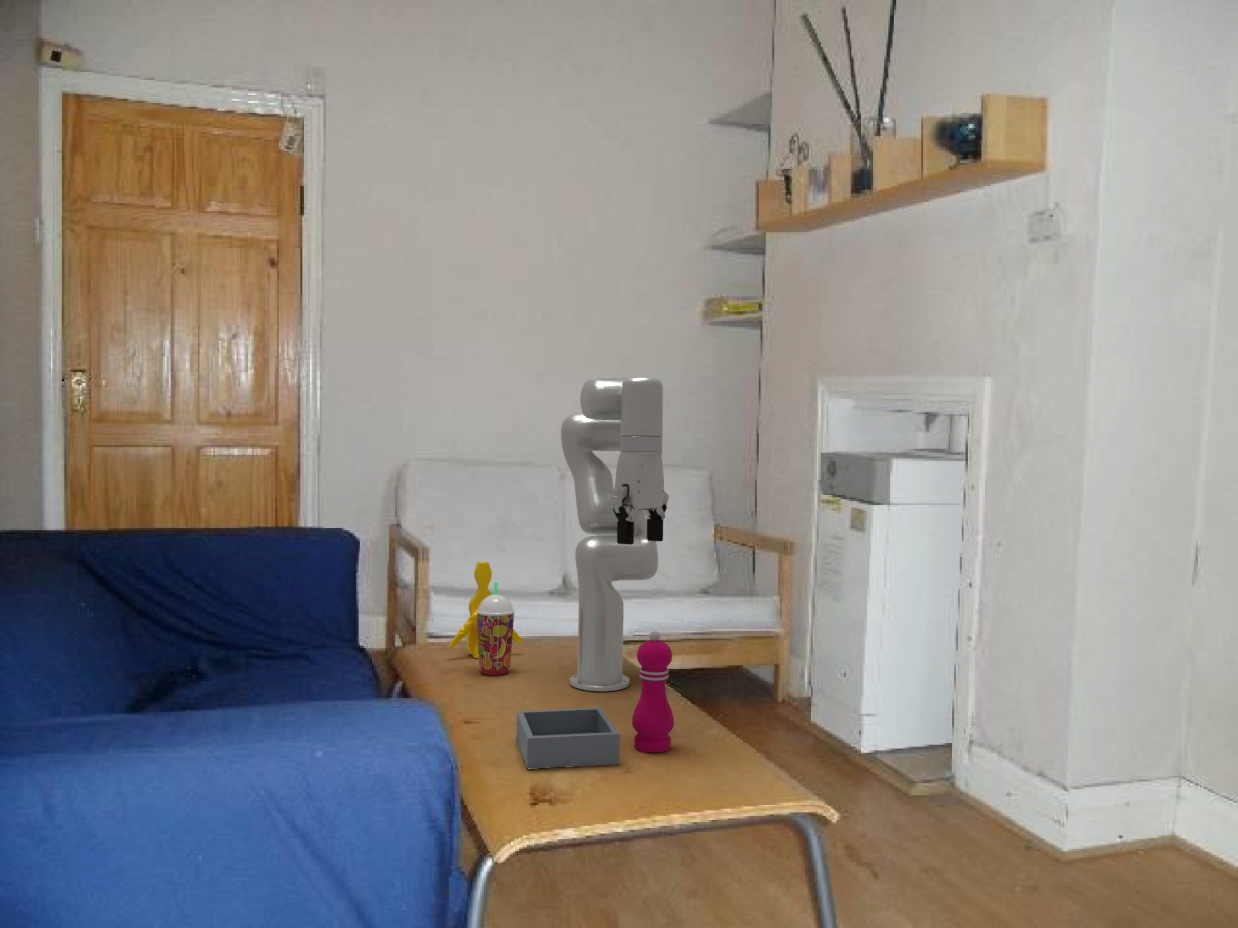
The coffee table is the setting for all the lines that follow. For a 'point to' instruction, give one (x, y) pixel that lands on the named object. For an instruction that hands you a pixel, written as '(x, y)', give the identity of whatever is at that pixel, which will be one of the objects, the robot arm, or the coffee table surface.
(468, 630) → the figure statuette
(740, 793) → the coffee table surface
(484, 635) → the smoothie
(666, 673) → the pepper mill
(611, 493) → the robot arm
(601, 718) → the bin
